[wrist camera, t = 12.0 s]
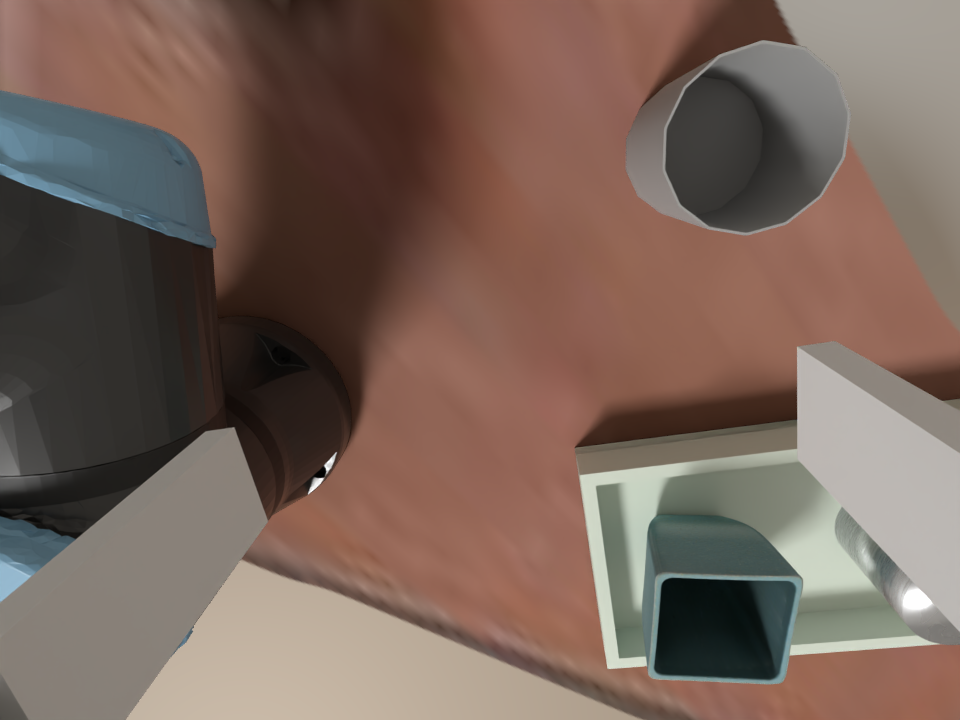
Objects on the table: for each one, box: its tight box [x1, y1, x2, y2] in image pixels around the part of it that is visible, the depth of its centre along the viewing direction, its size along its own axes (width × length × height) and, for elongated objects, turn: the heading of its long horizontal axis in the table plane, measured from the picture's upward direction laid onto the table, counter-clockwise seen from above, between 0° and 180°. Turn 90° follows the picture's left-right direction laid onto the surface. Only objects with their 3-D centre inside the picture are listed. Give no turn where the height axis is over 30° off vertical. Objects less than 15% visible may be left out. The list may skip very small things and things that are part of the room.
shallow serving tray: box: [575, 399, 960, 669], centre depth 42 cm, size 28×18×4 cm, turn 101°
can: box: [835, 507, 960, 645], centre depth 38 cm, size 7×7×8 cm
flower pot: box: [642, 514, 803, 684], centre depth 39 cm, size 9×9×9 cm
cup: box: [626, 40, 851, 235], centre depth 30 cm, size 8×8×10 cm
